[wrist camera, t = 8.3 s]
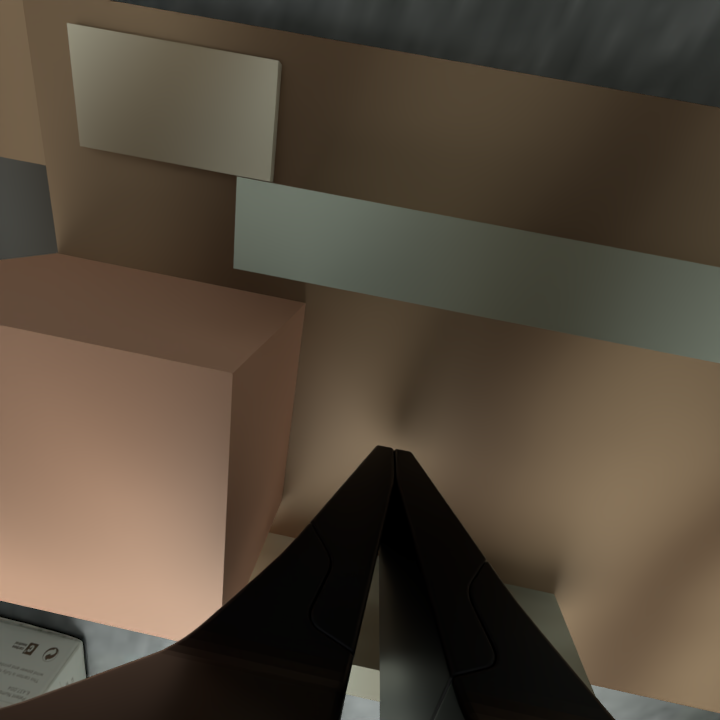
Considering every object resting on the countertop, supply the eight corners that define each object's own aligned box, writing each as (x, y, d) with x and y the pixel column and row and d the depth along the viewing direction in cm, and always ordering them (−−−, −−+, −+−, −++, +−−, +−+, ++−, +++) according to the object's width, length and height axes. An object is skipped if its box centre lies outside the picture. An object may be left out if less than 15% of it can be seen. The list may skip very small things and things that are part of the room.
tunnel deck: (1081, 215, 8) (2119, 218, 3) (707, 642, 15) (872, 872, 9) (-112, 1, 9) (-736, -256, 4) (11, 490, 15) (-181, 627, 10)
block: (305, 303, 8) (232, 373, 5) (282, 500, 11) (220, 650, 7) (57, 253, 9) (-200, 284, 5) (85, 457, 11) (-75, 583, 7)
